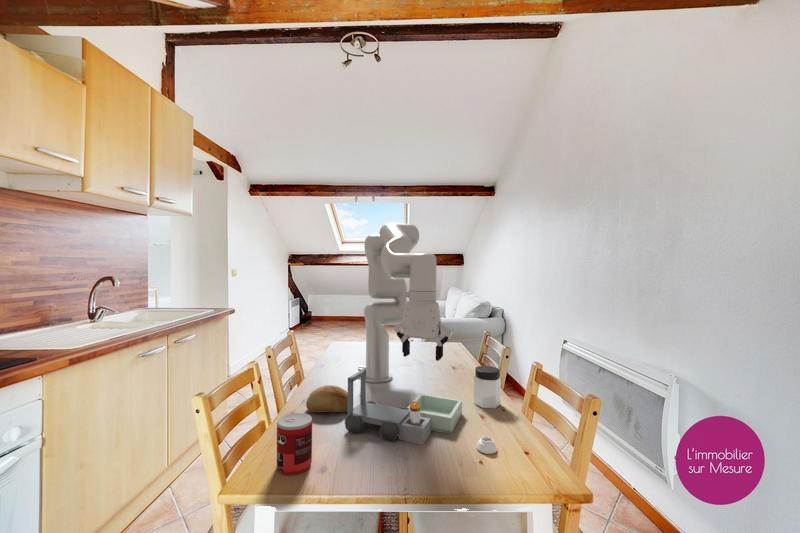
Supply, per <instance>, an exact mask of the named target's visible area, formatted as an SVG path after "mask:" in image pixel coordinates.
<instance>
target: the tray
mask: <svg viewBox="0 0 800 533" xmlns="http://www.w3.org/2000/svg"><path fill="white" fill-rule="evenodd" d="M414 401H416V402H420V403H421V414H420V417H425V418H430V419H431V431H433V432H434V431H435V432H439V433H444V434H448V435H452V433H453V431H454V430H455V428H456V426H457V424H458V422H459V420H460V418H461V417H462V414H463V400H461V399H457V398H451V397H450V398H449V397H444V396H437V395H430V394H426V393H420V394H419V395H418V396H417V397H416V398H415V399H414V400H413V401H412V402H414ZM406 407H407V408H409V410H410V404H409V405H408V406H406Z"/></svg>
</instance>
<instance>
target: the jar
mask: <svg viewBox="0 0 800 533" xmlns="http://www.w3.org/2000/svg"><path fill="white" fill-rule="evenodd" d="M474 370H475V371H474V372H475V374H474V376H473V377H474V378H473V404H475V405H477V406H479V407H480V408H482V409H497V408H498V407H499V406H500V405H501V388H502V387H501V382H502V380H501V379H502V378H501V376H500V375H501V371H500V369H499V368H498V367H495V366H491V365H480V366H479V365H478V366H476V367H475V368H474Z"/></svg>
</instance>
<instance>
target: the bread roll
mask: <svg viewBox="0 0 800 533" xmlns="http://www.w3.org/2000/svg"><path fill="white" fill-rule="evenodd" d="M305 403H306V404H305V406H306V409H307V410H308V412H312V413H343V412H344V413H345V412H347V403H348V390H345V388H342V387H341V386H337V385H330V384H329V385H326V384H325V385H323V386H320V387H318V388H316V389H314V390H312V391H311V393H310V394H309V396H308V397H307V400H306V402H305Z"/></svg>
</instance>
